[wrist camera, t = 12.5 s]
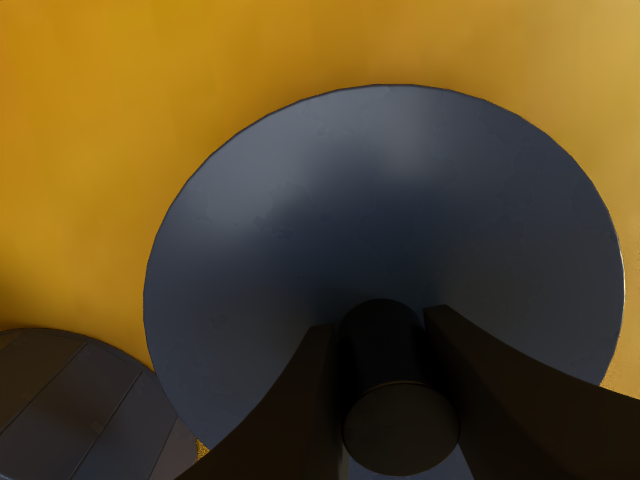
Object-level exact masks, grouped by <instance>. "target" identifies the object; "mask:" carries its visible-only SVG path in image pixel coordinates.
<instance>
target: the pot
mask: <svg viewBox="0 0 640 480" xmlns="http://www.w3.org/2000/svg"><path fill="white" fill-rule="evenodd" d="M196 462H197V447H196V439H195V436H194V434H193V433H192V432H191V430H190V429H189V428H188V427H187V426H186V425H185V423H184V422H183V421H182V420H181V419H180V417H179V416H178V414H177V412H176V411H175V409H174V408H173V406H172V405H171V403H170V401H169V400H168V398H167V397H166V395H165V393H164V390H163V388H162V386H161V384H160V382H159V380H158V378H157V376H156V375H155V374H154V373H153V372H152V371H151V370H149V369H148V368H147V367H145V366H144V365H143V364H141V363H140V362H139V361H137V360H136V359H134V358H132V357H131V356H129V355H127V354H126V353H124V352H122V351H121V350H119V349H117V348H115V347H112V346H110V345H108V344H106V343H104V342H101V341H99V340H96V339H93V338H90V337H87V336H84V335H80V334H76V333H71V332H67V331H62V330H54V329H46V328H22V329H13V330H5V331H1V332H0V480H174V479H175V478H176V477H178V476H179V475H180V474H182V473H183V472H184V471H186V470H187V469H188V468H190V467H191V466H192V465H193V464H195V463H196Z"/></svg>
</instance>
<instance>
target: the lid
mask: <svg viewBox="0 0 640 480" xmlns="http://www.w3.org/2000/svg"><path fill="white" fill-rule="evenodd" d="M624 303H625V275H624V264H623V259H622V254H621V249H620V243H619V239H618V236H617V233H616V230H615V228H614V225H613V222H612V220H611V217H610V214H609V211H608V209H607V207H606V206H605V204H604V202H603V200H602V198H601V197H600V195H599V193H598V191H597V190H596V188H595V186H594V184H593V183H592V181H591V180H590V179H589V177H588V176H587V175H586V174H585V172H584V171H583V170H582V169H581V167H580V166H579V165H578V164H577V162H576V161H575V160H574V159H573V157H572V156H571V155H570V154H568V153H567V152H566V151H565V150H564V149H563V148H562V147H561V146H560V145H559V144H557V143H556V142H555V141H554V140H553V139H552V138H551V137H550V136H549V135H548V134H546V133H545V132H543V131H542V130H540V129H539V128H537V127H536V126H534V125H533V124H531V123H530V122H528V121H526V120H525V119H523V118H522V117H520V116H519V115H517V114H515V113H513V112H511V111H508V110H506V109H504V108H502V107H500V106H498V105H495V104H493V103H491V102H489V101H487V100H484V99H481V98H477V97H474V96H471V95H467V94H464V93H460V92H457V91H453V90H450V89H443V88H436V87H429V86H422V85H415V84H372V85H365V86H357V87H350V88H343V89H336V90H333V91H329V92H326V93H322V94H319V95H315V96H312V97H308V98H305V99H301V100H299V101H296V102H294V103H292V104H290V105H287V106H285V107H283V108H280V109H278V110H276V111H274V112H271V113H269V114H267V115H265V116H264V117H262V118H260V119H259V120H257V121H255V122H254V123H252V124H251V125H249V126H247V127H246V128H244V129H242V130H241V131H239V132H238V133H236V134H235V135H234V136H233V137H231V138H230V139H229V140H228V141H226V142H225V143H224V144H223V145H222V146H220V147H219V148H218V149H217V150H216V151H214V152H213V153H212V154H211V155H210V156H209V157H208V158H207V159H206V160H205V161H204V162H203V163H202V164H201V166H200V167H199V168H198V169H197V170H196V171H195V172H194V173H193V174H192V176H191V177H190V178H189V179H188V180H187V181H186V183H185V184H184V186H183V187H182V189H181V190H180V192H179V193H178V195H177V196H176V198H175V199H174V201H173V202H172V204H171V205H170V207H169V209H168V211H167V213H166V215H165V217H164V219H163V221H162V223H161V226H160V228H159V230H158V232H157V234H156V237H155V240H154V243H153V247H152V250H151V253H150V257H149V260H148V263H147V270H146V277H145V284H144V290H143V321H144V327H145V334H146V341H147V347H148V350H149V354H150V357H151V360H152V364H153V367H154V370H155V373H156V375H157V378H158V380H159V382H160V384H161V386H162V388H163V390H164V393H165V395H166V397H167V398H168V400H169V401H170V403H171V405H172V406H173V408H174V409H175V411H176V412H177V414H178V416H179V417H180V419H181V420H182V421H183V422H184V423H185V425H186V426H187V427H188V428H189V429H190V430H191V432H192V433H193V434H194V435H195V436H196V438H197V439H198V440H199V441H201V442H202V443H203V444H204V445H205V446H206V447H207V448H208V449H209V450H210V451H211V450H212V449H213V448H214V447H215V446H216V445H217V444H218V443H219V442H220V441H221V440H223V439H224V438H225V437H226V436H227V435H228V434H229V433H230V432H231V431H232V430H233V429H235V428H236V427H237V426H238V425H239V424H240V423H241V422H242V421H243V420H244V419H245V418H246V416H247V415H248V414H249V413H250V412H251V411H252V410H253V409H254V408H255V407H256V406H257V404H258V403H259V402H260V401H261V400H262V398H263V397H264V396H265V395H266V393H267V392H268V391H269V389H270V388H271V387H272V385H273V384H274V382H275V381H276V380H277V378H278V377H279V376H280V374H281V373H282V371H283V370H284V368H285V367H286V365H287V364H288V362H289V361H290V359H291V357H292V356H293V354H294V353H295V351H296V349H297V348H298V346H299V344H300V343H301V341H302V339H303V337H304V335H305V334H306V332H307V330H308V329H309V328H310V326H316V325H322V324H328V323H333V327H334V332H335V337H336V341H337V346H338V368H339V398H340V422H341V436H342V441H343V444H344V446H345V448H346V450H347V452H348V453H349V480H474V478H473V476H472V474H471V471H470V469H469V467H468V465H467V462H466V460H465V458H464V456H463V454H462V451H461V449H460V447H459V445H458V441H459V437H460V433H461V419H460V414H459V412H458V409H457V407H456V404H455V402H454V399H453V397H452V395H451V392H450V390H449V387H448V385H447V383H446V380H445V378H444V375H443V373H442V371H441V368H440V366H439V363H438V361H437V359H436V356H435V354H434V351H433V349H432V347H431V344H430V342H429V339H428V337H427V335H426V331H425V323H424V316H423V308H425V307H431V306H437V305H443V304H446V305H448V306H449V307H451V308H452V309H454V310H455V311H457V312H458V313H459V314H461V315H462V316H464V317H465V318H467V319H468V320H469V321H471V322H472V323H474V324H475V325H477V326H478V327H480V328H481V329H483V330H484V331H486V332H488V333H489V334H491V335H492V336H494V337H496V338H497V339H499V340H501V341H502V342H504V343H506V344H507V345H509V346H511V347H513V348H515V349H517V350H518V351H520V352H522V353H524V354H526V355H528V356H529V357H531V358H533V359H535V360H537V361H539V362H542V363H544V364H546V365H548V366H550V367H553V368H555V369H557V370H559V371H562V372H564V373H566V374H568V375H571V376H573V377H576V378H578V379H581V380H583V381H586V382H589V383H591V384H594V385H597V386H599V385H600V383H601V382H602V380H603V378H604V376H605V374H606V371H607V369H608V367H609V364H610V362H611V360H612V357H613V355H614V353H615V349H616V345H617V342H618V338H619V334H620V330H621V327H622V321H623V312H624Z"/></svg>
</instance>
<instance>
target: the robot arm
mask: <svg viewBox="0 0 640 480" xmlns="http://www.w3.org/2000/svg"><path fill="white" fill-rule="evenodd" d="M423 316H424V323H425V331H426V335H427V337H428V339H429V342H430V344H431V347H432V349H433V351H434V354H435V356H436V359H437V361H438V363H439V366H440V368H441V371H442V373H443V375H444V378H445V380H446V383H447V385H448V387H449V390H450V392H451V395H452V397H453V399H454V402H455V404H456V407H457V409H458V412H459V414H460V419H461V433H460V437H459V441H458V445H459V447H460V449H461V451H462V454H463V456H464V458H465V460H466V462H467V465H468V467H469V469H470V471H471V474H472V476H473V478H474V480H640V400H639V399H635V398H632V397H629V396H626V395H623V394H620V393H617V392H614V391H611V390H608V389H605V388H603V387H600V386H597V385H594V384H591V383H589V382H586V381H583V380H581V379H578V378H576V377H573V376H571V375H568V374H566V373H564V372H562V371H559V370H557V369H555V368H553V367H550V366H548V365H546V364H544V363H542V362H539V361H537V360H535V359H533V358H531V357H529V356H528V355H526V354H524V353H522V352H520V351H518V350H517V349H515V348H513V347H511V346H509V345H507V344H506V343H504V342H502V341H501V340H499V339H497V338H496V337H494V336H492V335H491V334H489V333H488V332H486V331H484V330H483V329H481V328H480V327H478V326H477V325H475V324H474V323H472V322H471V321H469V320H468V319H467V318H465V317H464V316H462V315H461V314H459V313H458V312H457V311H455V310H454V309H452V308H451V307H449V306H448V305H446V304H443V305H437V306H431V307H425V308H423ZM174 480H349V453H348V452H347V450H346V448H345V446H344V444H343V441H342V436H341V422H340V398H339V368H338V346H337V341H336V337H335V332H334V327H333V323H328V324H322V325H316V326H310V328H309V329H308V330H307V332H306V334H305V335H304V337H303V339H302V341H301V343H300V344H299V346H298V348H297V349H296V351H295V353H294V354H293V356H292V357H291V359H290V361H289V362H288V364H287V365H286V367H285V368H284V370H283V371H282V373H281V374H280V376H279V377H278V378H277V380H276V381H275V382H274V384H273V385H272V387H271V388H270V389H269V391H268V392H267V393H266V395H265V396H264V397H263V398H262V400H261V401H260V402H259V403H258V404H257V406H256V407H255V408H254V409H253V410H252V411H251V412H250V413H249V414H248V415H247V416H246V418H245V419H244V420H243V421H242V422H241V423H240V424H239V425H238V426H237V427H236V428H235V429H233V430H232V431H231V432H230V433H229V434H228V435H227V436H226V437H225V438H224V439H223V440H221V441H220V442H219V443H218V444H217V445H216V446H215V447H214V448H213V449H212V450H211V451H209V452H208V453H207V454H206V455H205V456H203V457H202V458H201V459H200V460H198V461H197V462H196V463H195V464H193V465H192V466H191V467H190V468H188V469H187V470H186V471H184V472H183V473H182V474H180V475H179V476H178V477H176V478H175V479H174Z"/></svg>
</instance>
